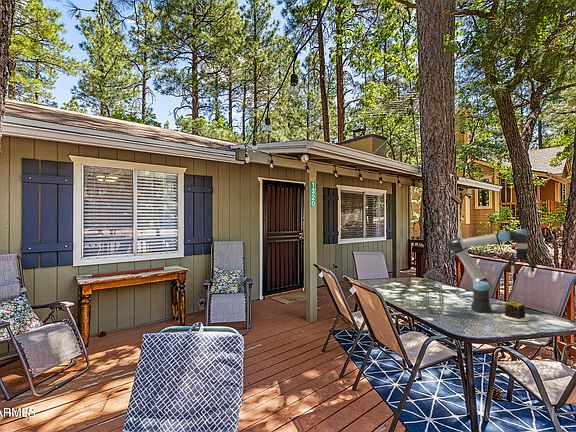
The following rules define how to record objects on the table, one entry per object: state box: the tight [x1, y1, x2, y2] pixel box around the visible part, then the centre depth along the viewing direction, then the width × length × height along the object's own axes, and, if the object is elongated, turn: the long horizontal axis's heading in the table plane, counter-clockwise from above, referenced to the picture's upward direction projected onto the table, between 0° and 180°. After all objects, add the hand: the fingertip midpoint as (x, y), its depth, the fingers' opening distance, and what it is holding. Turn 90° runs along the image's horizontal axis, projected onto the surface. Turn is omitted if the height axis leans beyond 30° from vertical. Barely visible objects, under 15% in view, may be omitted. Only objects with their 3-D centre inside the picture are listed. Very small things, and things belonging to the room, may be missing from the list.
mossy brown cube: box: [504, 301, 526, 319], centre depth 250 cm, size 10×10×10 cm
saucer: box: [500, 312, 531, 322], centre depth 250 cm, size 18×18×1 cm
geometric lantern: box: [423, 268, 445, 315], centre depth 267 cm, size 16×16×35 cm
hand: (521, 274), depth 264 cm, fingers open, 13 cm apart
